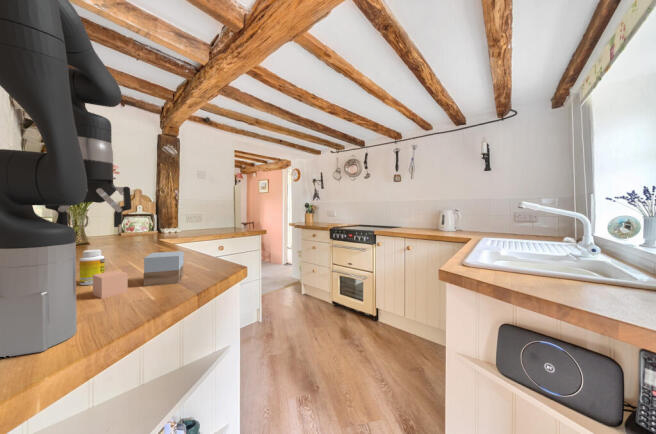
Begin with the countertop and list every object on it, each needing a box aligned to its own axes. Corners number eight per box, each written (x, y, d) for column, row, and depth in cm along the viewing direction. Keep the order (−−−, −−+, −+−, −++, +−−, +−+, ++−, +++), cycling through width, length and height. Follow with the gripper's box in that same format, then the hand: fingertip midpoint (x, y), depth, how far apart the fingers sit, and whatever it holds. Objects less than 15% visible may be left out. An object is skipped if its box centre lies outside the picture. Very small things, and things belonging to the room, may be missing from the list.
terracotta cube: (127, 292, 65) (127, 273, 65) (101, 298, 61) (101, 277, 60) (118, 289, 68) (118, 270, 68) (92, 294, 63) (92, 274, 63)
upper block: (179, 269, 74) (179, 255, 74) (144, 272, 70) (144, 257, 70) (183, 263, 82) (183, 251, 82) (152, 266, 78) (152, 252, 78)
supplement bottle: (103, 283, 72) (103, 250, 72) (77, 287, 69) (77, 252, 68) (105, 279, 76) (105, 248, 76) (81, 282, 73) (81, 250, 73)
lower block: (178, 284, 74) (178, 270, 74) (143, 287, 70) (143, 272, 70) (183, 276, 82) (183, 263, 82) (152, 279, 78) (152, 265, 78)
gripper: (41, 152, 47) (44, 231, 48) (132, 163, 57) (132, 228, 59) (46, 155, 52) (48, 226, 54) (128, 165, 63) (129, 224, 64)
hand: (92, 227), depth 56 cm, fingers open, 8 cm apart
